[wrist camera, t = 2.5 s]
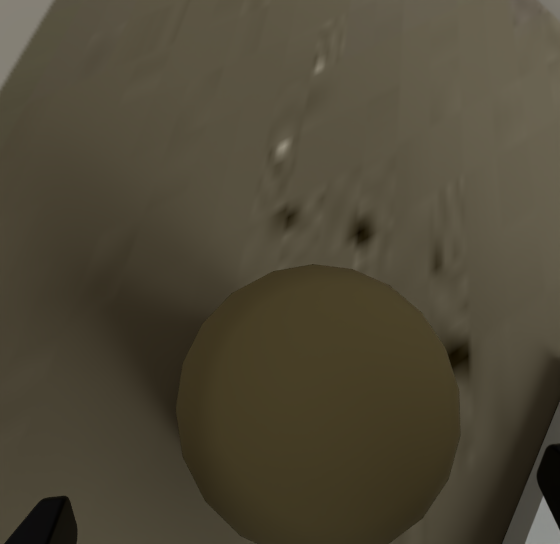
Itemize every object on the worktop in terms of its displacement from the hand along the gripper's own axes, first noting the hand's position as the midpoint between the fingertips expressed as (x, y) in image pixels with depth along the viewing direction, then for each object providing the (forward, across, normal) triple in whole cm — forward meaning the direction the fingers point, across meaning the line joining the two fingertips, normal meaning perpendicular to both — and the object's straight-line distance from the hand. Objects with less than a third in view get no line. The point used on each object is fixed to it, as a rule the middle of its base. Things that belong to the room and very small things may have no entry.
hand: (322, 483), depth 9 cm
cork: (+8, 0, +6) cm, 9 cm away
